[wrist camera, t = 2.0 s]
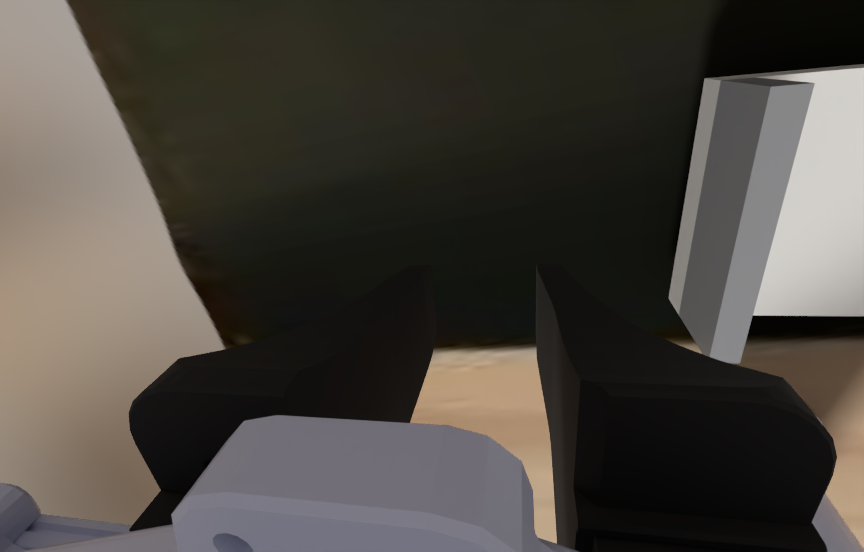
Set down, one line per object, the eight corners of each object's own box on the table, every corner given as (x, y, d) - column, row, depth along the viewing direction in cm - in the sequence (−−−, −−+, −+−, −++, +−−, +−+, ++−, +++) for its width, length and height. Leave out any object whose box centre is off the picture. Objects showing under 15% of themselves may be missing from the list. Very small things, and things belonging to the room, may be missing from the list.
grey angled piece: (910, 281, 19) (1067, 372, 13) (658, 282, 21) (708, 362, 15) (1012, 47, 15) (1294, 42, 9) (690, 76, 17) (771, 86, 11)
